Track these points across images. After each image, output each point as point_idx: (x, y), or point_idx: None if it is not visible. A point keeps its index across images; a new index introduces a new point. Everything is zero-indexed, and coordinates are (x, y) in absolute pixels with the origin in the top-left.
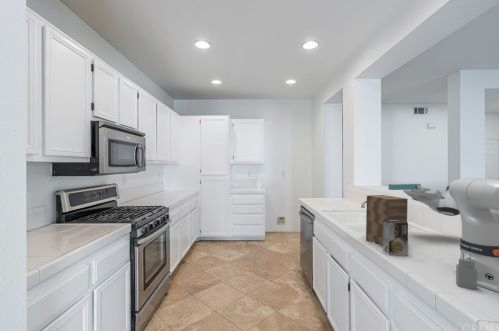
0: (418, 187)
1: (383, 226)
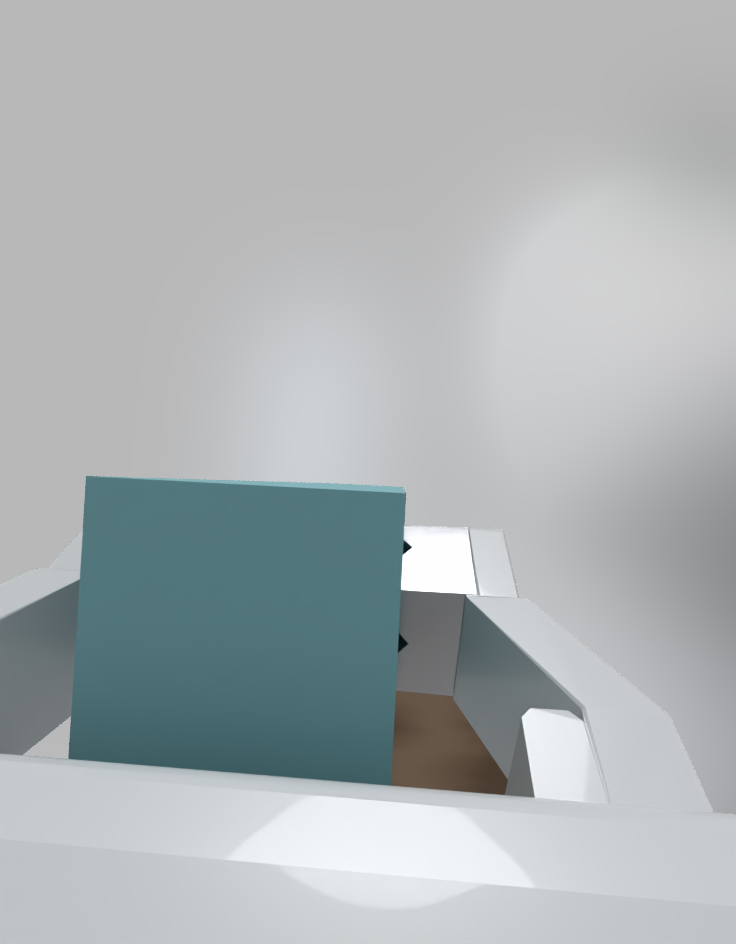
0: None
1: None
